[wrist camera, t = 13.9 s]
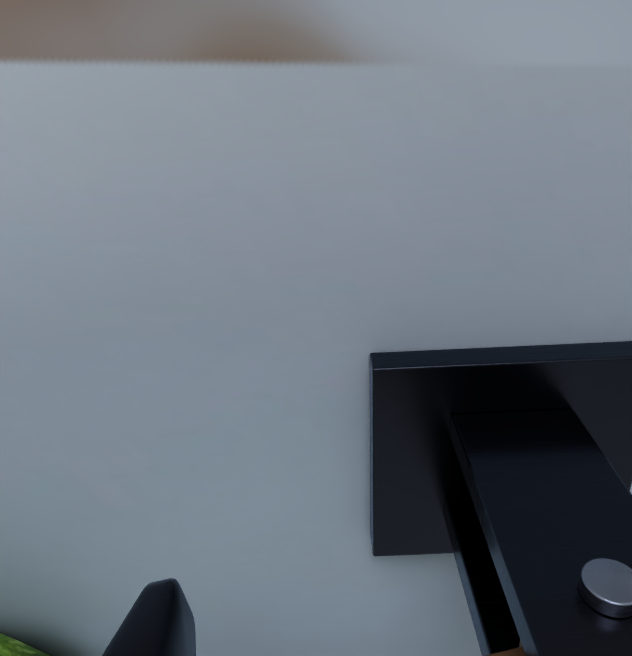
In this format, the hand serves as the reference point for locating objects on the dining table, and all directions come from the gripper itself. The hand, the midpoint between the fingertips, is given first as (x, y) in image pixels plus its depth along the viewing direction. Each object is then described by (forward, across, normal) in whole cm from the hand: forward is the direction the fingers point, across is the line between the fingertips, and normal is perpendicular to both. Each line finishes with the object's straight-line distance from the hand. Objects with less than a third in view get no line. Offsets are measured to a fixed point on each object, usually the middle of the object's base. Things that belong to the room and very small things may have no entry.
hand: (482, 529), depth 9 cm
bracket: (+12, -4, +10) cm, 16 cm away
